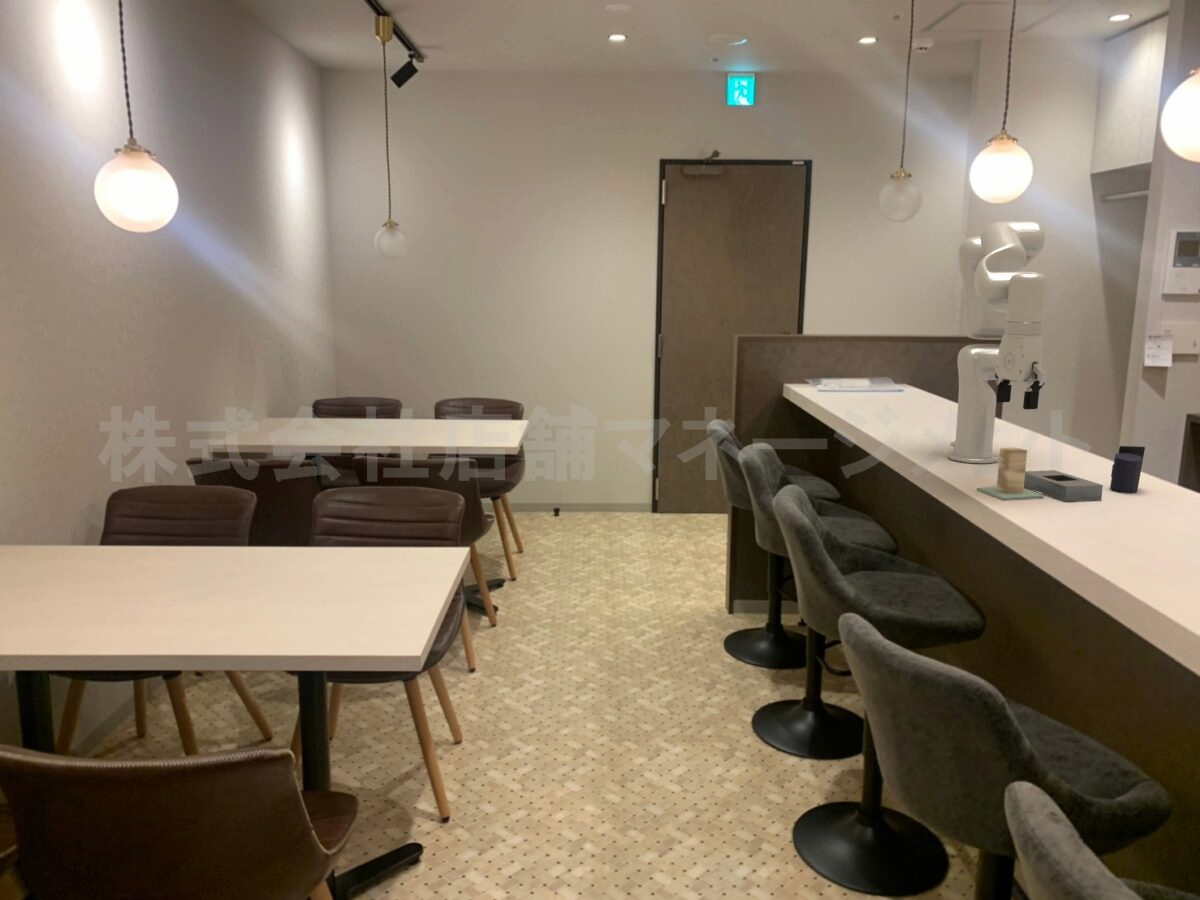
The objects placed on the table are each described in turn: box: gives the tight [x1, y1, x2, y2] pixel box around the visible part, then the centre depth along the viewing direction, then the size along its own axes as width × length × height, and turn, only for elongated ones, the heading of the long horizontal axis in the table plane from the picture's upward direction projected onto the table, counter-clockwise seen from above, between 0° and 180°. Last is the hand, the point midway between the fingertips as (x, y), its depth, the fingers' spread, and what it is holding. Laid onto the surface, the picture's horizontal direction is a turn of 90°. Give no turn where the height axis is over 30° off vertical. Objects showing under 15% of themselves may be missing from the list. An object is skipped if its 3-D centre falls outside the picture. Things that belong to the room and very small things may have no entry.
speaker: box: [1109, 445, 1146, 494], centre depth 204 cm, size 8×6×10 cm
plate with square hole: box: [1024, 469, 1104, 503], centre depth 202 cm, size 16×9×4 cm, turn 10°
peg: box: [996, 446, 1028, 494], centre depth 200 cm, size 4×4×10 cm
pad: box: [976, 486, 1044, 501], centre depth 201 cm, size 10×10×1 cm
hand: (1016, 405), depth 198 cm, fingers open, 9 cm apart
